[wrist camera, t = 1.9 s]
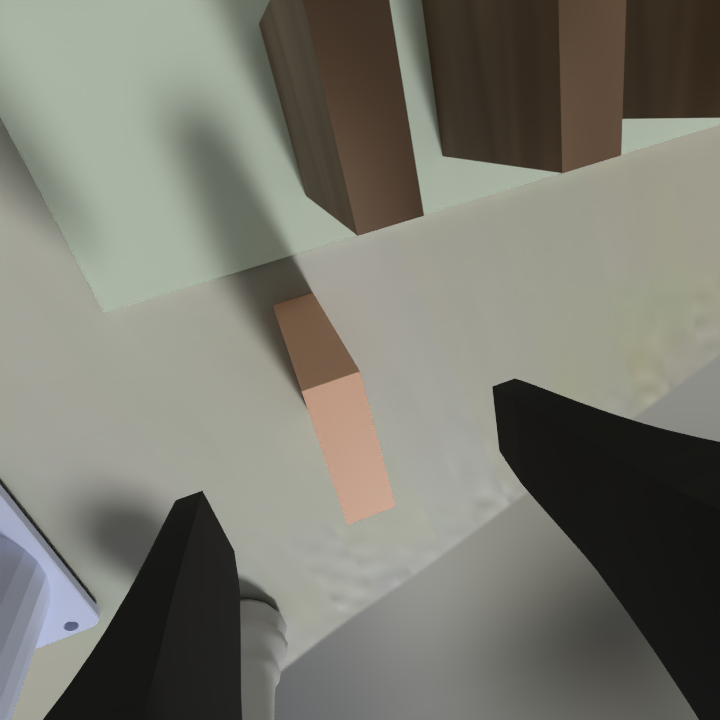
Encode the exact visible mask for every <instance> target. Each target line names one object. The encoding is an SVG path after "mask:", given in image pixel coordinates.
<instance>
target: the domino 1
mask: <svg viewBox="0 0 720 720" xmlns="http://www.w3.org/2000/svg"><path fill="white" fill-rule="evenodd" d="M259 26H260V30H261V34H262V37H263V41H264V45H265V48H266V52H267V56H268V59H269V63H270V66H271V70H272V74H273V77H274V81H275V85H276V88H277V92H278V96H279V99H280V103H281V107H282V110H283V114H284V118H285V121H286V125H287V129H288V132H289V136H290V140H291V143H292V147H293V151H294V154H295V158H296V161H297V165H298V169H299V172H300V176H301V180H302V183H303V187H304V191H305V194H306V196H307V197H308V198H309V199H311V200H312V201H313V202H314V203H316V204H317V205H318V206H320V207H321V208H322V209H324V210H325V211H326V212H327V213H329V214H330V215H331V216H333V217H334V218H335V219H337V220H338V221H339V222H340V223H342V224H343V225H344V226H346V227H347V228H348V229H350V230H351V231H352V232H353V233H355V234H356V235H357V236H358V235H362V234H365V233H368V232H371V231H375V230H378V229H381V228H385V227H388V226H391V225H394V224H398V223H401V222H404V221H407V220H411V219H414V218H417V217H421V216H424V212H423V206H422V200H421V194H420V188H419V181H418V175H417V169H416V163H415V157H414V150H413V144H412V138H411V132H410V126H409V119H408V113H407V107H406V101H405V95H404V88H403V82H402V76H401V70H400V64H399V57H398V51H397V45H396V39H395V33H394V26H393V20H392V14H391V8H390V2H389V0H270V1H269V3H268V5H267V7H266V9H265V12H264V14H263V16H262V18H261V20H260V22H259Z"/></svg>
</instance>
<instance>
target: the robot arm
mask: <svg viewBox="0 0 720 720" xmlns="http://www.w3.org/2000/svg"><path fill="white" fill-rule="evenodd" d="M493 396H494V405H495V414H496V423H497V432H498V441H499V450H500V452H501V454H502V455H503V457H504V458H505V460H506V461H507V463H508V464H509V466H510V467H511V469H512V470H513V472H514V473H515V475H516V476H517V478H518V479H519V481H520V482H521V483H522V485H523V486H524V487H525V488H526V489H527V490H528V492H529V493H530V494H531V495H532V496H533V497H534V498H535V500H536V501H537V502H538V503H539V504H540V505H541V506H542V508H543V509H544V510H545V511H546V512H547V513H548V514H549V516H550V517H551V518H552V519H553V520H554V521H555V522H556V523H557V524H558V526H559V527H560V528H561V529H562V530H563V531H564V533H565V534H566V535H567V536H568V537H569V538H570V539H571V540H572V542H573V543H574V544H575V545H576V546H577V547H578V548H579V549H580V551H581V552H582V553H583V554H584V555H585V556H586V558H587V559H588V560H589V561H590V562H591V564H592V565H593V566H594V567H595V569H596V570H597V571H598V572H599V574H600V575H601V577H602V578H603V579H604V581H605V582H606V583H607V585H608V586H609V587H610V589H611V590H612V592H613V593H614V594H615V596H616V597H617V599H618V600H619V601H620V603H621V604H622V605H623V607H624V608H625V610H626V611H627V612H628V614H629V615H630V617H631V618H632V619H633V621H634V622H635V624H636V625H637V627H638V628H639V630H640V631H641V633H642V634H643V635H644V637H645V638H646V640H647V641H648V643H649V644H650V645H651V647H652V648H653V650H654V651H655V653H656V654H657V656H658V657H659V659H660V660H661V662H662V663H663V665H664V666H665V668H666V669H667V671H668V672H669V674H670V675H671V677H672V678H673V680H674V682H675V683H676V685H677V686H678V688H679V689H680V691H681V692H682V694H683V695H684V697H685V698H686V700H687V701H688V703H689V704H690V706H691V708H692V709H693V711H694V712H695V714H696V716H697V717H698V719H699V720H720V442H717V441H713V440H707V439H703V438H698V437H694V436H690V435H686V434H681V433H677V432H673V431H669V430H665V429H661V428H657V427H654V426H650V425H647V424H643V423H640V422H636V421H633V420H630V419H627V418H624V417H620V416H617V415H614V414H611V413H608V412H605V411H602V410H599V409H597V408H594V407H591V406H588V405H585V404H583V403H580V402H577V401H574V400H572V399H569V398H566V397H564V396H561V395H559V394H556V393H553V392H551V391H548V390H545V389H543V388H540V387H538V386H535V385H532V384H529V383H527V382H524V381H521V380H518V379H513V380H510V381H507V382H504V383H501V384H499V385H496V386H493ZM99 616H100V610H99V608H98V606H97V605H96V604H95V603H94V601H93V600H92V599H91V598H90V596H89V595H88V594H87V593H86V591H85V590H84V589H83V588H82V586H81V585H80V584H79V583H78V581H77V580H76V579H75V578H74V576H73V575H72V574H71V573H70V571H69V570H68V569H67V568H66V566H65V565H64V564H63V563H62V561H61V560H60V559H59V558H58V556H57V555H56V554H55V553H54V551H53V550H52V549H51V548H50V546H49V545H48V544H47V542H46V541H45V540H44V539H43V537H42V536H41V535H40V534H39V532H38V531H37V530H36V529H35V527H34V526H33V525H32V524H31V522H30V521H29V520H28V519H27V517H26V516H25V515H24V514H23V512H22V511H21V510H20V509H19V507H18V506H17V505H16V504H15V502H14V501H13V500H12V499H11V497H10V496H9V495H8V494H7V492H6V491H5V490H4V489H3V487H2V486H1V485H0V720H11V719H12V716H13V713H14V710H15V707H16V704H17V701H18V698H19V695H20V692H21V689H22V686H23V683H24V680H25V677H26V674H27V671H28V669H29V666H30V663H31V660H32V657H33V654H34V651H35V649H37V648H40V647H42V646H45V645H47V644H50V643H53V642H55V641H58V640H60V639H63V638H65V637H68V636H71V635H73V634H76V633H78V632H81V631H83V630H86V629H89V628H91V627H93V626H95V625H96V624H97V623H98V620H99ZM71 621H73V622H71ZM43 720H242V702H241V619H240V589H239V581H238V574H237V567H236V560H235V553H234V550H233V548H232V546H231V544H230V542H229V540H228V538H227V537H226V535H225V533H224V531H223V529H222V527H221V525H220V523H219V521H218V519H217V518H216V516H215V514H214V512H213V510H212V508H211V506H210V504H209V502H208V500H207V499H206V497H205V495H204V493H203V491H201V492H198V493H195V494H192V495H189V496H187V497H184V498H181V499H178V500H176V501H175V503H174V505H173V507H172V509H171V510H170V512H169V514H168V516H167V518H166V520H165V522H164V524H163V526H162V528H161V530H160V532H159V534H158V536H157V538H156V540H155V542H154V544H153V546H152V548H151V550H150V552H149V554H148V556H147V558H146V560H145V562H144V564H143V566H142V567H141V569H140V571H139V573H138V575H137V577H136V579H135V581H134V583H133V584H132V586H131V588H130V590H129V592H128V594H127V595H126V597H125V599H124V600H123V602H122V604H121V605H120V607H119V609H118V611H117V612H116V614H115V616H114V617H113V619H112V621H111V623H110V624H109V626H108V628H107V629H106V631H105V633H104V634H103V636H102V637H101V639H100V640H99V642H98V644H97V645H96V647H95V648H94V650H93V651H92V653H91V654H90V656H89V657H88V659H87V660H86V661H85V663H84V664H83V666H82V667H81V669H80V670H79V672H78V673H77V675H76V676H75V677H74V679H73V680H72V682H71V683H70V685H69V686H68V687H67V689H66V690H65V691H64V693H63V694H62V696H61V697H60V698H59V699H58V701H57V702H56V703H55V705H54V706H53V707H52V709H51V710H50V711H49V712H48V714H47V715H46V716H45V718H44V719H43Z"/></svg>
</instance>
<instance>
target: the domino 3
mask: <svg viewBox="0 0 720 720" xmlns="http://www.w3.org/2000/svg"><path fill="white" fill-rule="evenodd" d="M658 118H720V0H626V25H625V56H624V86H623V116H622V119H658Z"/></svg>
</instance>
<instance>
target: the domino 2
mask: <svg viewBox="0 0 720 720" xmlns="http://www.w3.org/2000/svg"><path fill="white" fill-rule="evenodd" d="M422 6H423V14H424V21H425V29H426V36H427V44H428V51H429V58H430V66H431V73H432V81H433V88H434V95H435V103H436V110H437V118H438V125H439V133H440V140H441V147H442V155H443V156H444V157H451V158H458V159H465V160H472V161H480V162H487V163H494V164H501V165H508V166H515V167H522V168H529V169H536V170H544V171H551V172H558V173H564V172H568V171H571V170H574V169H578V168H581V167H584V166H587V165H591V164H594V163H597V162H600V161H604V160H607V159H610V158H613V157H617V156H620V155H621V146H622V116H623V86H624V56H625V25H626V0H422Z"/></svg>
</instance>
